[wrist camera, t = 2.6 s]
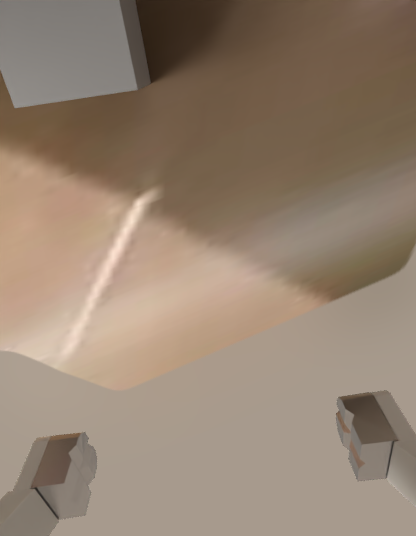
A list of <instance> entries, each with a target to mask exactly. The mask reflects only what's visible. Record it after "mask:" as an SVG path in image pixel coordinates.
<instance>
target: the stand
mask: <svg viewBox="0 0 416 536" xmlns="http://www.w3.org/2000/svg"><path fill="white" fill-rule="evenodd" d="M0 70H1V73H2V75H3V78H4V81H5V83H6V86H7V89H8V91H9V94H10V97H11V99H12V102H13V105H14V107H15V108H19V107H26V106H33V105H39V104H46V103H53V102H60V101H66V100H73V99H80V98H86V97H93V96H100V95H106V94H113V93H120V92H126V91H133V90H138V89H141V88H143V87H145V86H147V85H149V84H151V81H150V76H149V70H148V65H147V60H146V54H145V49H144V44H143V38H142V33H141V28H140V22H139V17H138V12H137V6H136V1H135V0H0Z"/></svg>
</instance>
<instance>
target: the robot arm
mask: <svg viewBox="0 0 416 536" xmlns="http://www.w3.org/2000/svg"><path fill="white" fill-rule="evenodd" d="M337 407H338V409H339V411H338V413H336V423H337V429H338V433H339V436H340V439H341V441H342V444H343V445H344V446H345V447H346V448H347V449H349V462H350V464H351V466H352V469H353V471H354V474H355V476H356V479H357V481H365V480H374V479H386V478H387V481H388V482H389V483H390V484H391V485H392V486H394V488H396V489H397V490H398V491H399V492H400V493H401V494H402V495H403V496H404V497H405V498H406V499H407V500H408V501H409V502H410V503H411V504H412V505H414V506H415V507H416V434H415V432H414V431H413V429H412V428H411V426H410V425H409V423H408V421H407V419H406V418H405V416H404V415H403V413H402V412H401V410H400V408H399V407H398V405H397V403H396V402H395V400H394V398H393V397H392V395H391V393H389V392H388V391H385V390H384V391H378V392H372V393H369V392H368V393H362V394H355V395H348V396H342V397H338V398H337ZM88 439H89V438H88V436H87V435H86V433H85V432H82V433H73V434H66V435H65V434H64V435H56V436H47V437H39V438H37V439H36V440H35V441H34V443H33V444H32V446H31V449H30V451H29V454H28V456H27V458H26V461H25V463H24V465H23V468H22V470H21V472H20V475H19V477H18V479H17V482H16V484H15V486H14V489H13V491H11V492H8V493H6V494H5V495H4V496H3V497H2V498H1V500H0V536H49V535H50V534H51V532H52V530H53V529H54V528H55V526H56V525H57V523H58V522H59V519H66V518H72V517H79V516H85V515H86V511H87V507H88V503H89V499H90V495H91V491H90V489H89V486H88V485H89V484H90V482H91V481H92V480H93V479H94V478H95V473H96V469H97V456H96V452H95V449H94V447H93V446H91V445H89V444H87V443H88Z"/></svg>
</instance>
